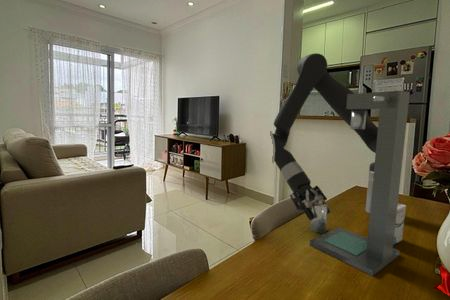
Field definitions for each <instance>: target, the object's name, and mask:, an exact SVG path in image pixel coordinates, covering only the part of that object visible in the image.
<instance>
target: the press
mask: <svg viewBox="0 0 450 300" xmlns="http://www.w3.org/2000/svg"><path fill="white" fill-rule="evenodd" d="M410 97H411V93H410V91H405V90H392V91H375V92H374V91H373V92H364V93H362V92H360V93H359V92H358V93H355V94H347V107H346V109H367V110H379V113H378V124H377V127H378V133H377V144H376V153H375V154H374V155H375V156H374V162H375V165H374V176H373V186H372V197H371V208H370V214H369V221H368V231H367V237H366V236H363V235H360V234H358V233H355V232H353V231H351V230H347V229H345V228H342V227H339V226H338V227H336V228H333V229H331V230H330V231H327V232H325V233H322V234H320V235H318V236H317V237H314V238H312V239H310V240H309V245H310V246H311V247H313V248H315V249H318V250H319V251H321V252H324V254H325V253H326V254H328V255H329V256H332V257H333V258H335V259H337V260H339V261H342V262H344V263H346V264H347V265H350V266H351V267H354V268H355V269H357V270H359V271H362V272H364V273H366V274H367V275H369V276H371V277H373V276H375V275H376V274H377V273H379V272H380V271H381V270H382V269H383V268H385V267H386V266H387V265H389V264H390V263H391V262H392V261H394V260H395V259H397V258H398V257H399V256H400V249H397V248H395V247H394V245H393V242H394V233H395V224H396V215H397V205H398V203H399V194H400V188H401V187H400V186H401V178H402V168H403V167H402V166H403V158H404V148H405V139H406V132H407V121H408V115H409V114H408V113H409V103H410ZM365 122H366V111H352V114H351V127H350V126H349V127H350V130H353V129H365Z"/></svg>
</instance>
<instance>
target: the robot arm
mask: <svg viewBox="0 0 450 300" xmlns="http://www.w3.org/2000/svg"><path fill="white" fill-rule="evenodd" d="M296 68H297V69H296V71H297V74H298V79H297V81H296V83H295V85H294V87H293V89H292V91H291V92H290V94H288V95H289V96H287V98H286V100H285V101H284V102H283V104H282V106H281V107H280V109H279V110H278V113H277V116H276V117H275V119H274V122H273V125H274V127H275V131H274V133H273V132H271V135H272V138H273V143H274V157H273V162H274V163H275V164H276V166H277V168H278V169H279V171H280V173H281V174H282V177H283V179H284V181H285V182H286V183H287V185H288V186H289V189H290V190H291V194H289V196H290V199H291V201H292V202H293V204H294V206H295V207H296V209H297V210H298V211H300V210H301V211H303V212H304V213H305V215H306V217H307V218H308V219H309V221H311V220H313V219H314V218H315V215H314V214H313V212H312V208H310V207H309V202H312V203H318V200H321V201H322V203H323V204H326V201H327V200H328V198H327V196H326V195H325V194H324V192H323V191H322V190H321V188H320V187H319V186H318V185H315V186H314V187H312V186H311V183H312V182H311V180H310V178H309V176H308V175H307V174H306V171H304V169H303V168H302V166H301V165H300V164H299V163H298V162H297V160H296V158H295V157H294V155H293V154H292V153H291V152H290V151H289V150H288V149H285V147H286V144H287V143H288V140H289V136H290V131H291V129H292V127H293V125H294V123H295V121H296V119H297V117H298V115H299V114H300V111H301V109H302V108H303V106H304V104H305V103H306V101H307V99H308V97H309V95H310V94H311V92H312V91H313V90H316V91H317V92H318V93H319V95H321V97H322V98H323V99H324V101H325V102H326V103H327V104H328V105H329V106H330V108H331V109H332V110H333V112H335V113H336V115H338V117H340V118H341V119H342V120H343V121H344V122H345V123H346V124H347V125H348V126H349V127H351V114H352V111H366V122H365V129H352V130H353V131H354V132H356V134H357V135H358V136H359V137H360V139H361V140H362V142H363V143H364V144H365V145H366V147H367V148H368V149H369V150H370V151H371V152H373V153H375V154H376V144H377V133H378V125H376V124H375V123H374V122H373V121H372V120H371V118H370V116H369V112H368V109H346V107H347V94H356V93H355V92H354V91H353V90H351V89H350V88H348V87H347V86H345V84H343V83H341V82H339V81H338V80H336V79H335V78H334V77H333V76H332V75H331V74H330V73H329V71H327V70H328V69H327V68H328V60H327V59H326V57H325V56H324V55H323V54H321V53H319V52H318V53H310V54H308V55H305V56H303V57H302V58H301V59H300V60H299V61H298V63H297V65H296ZM374 165H375V161H374V162H371V163H370V164H369V166H368V167H369V168H368V181H367V182H368V183H367V191H366V200H365V201H366V202H365V212H366V213H367V214H369V215H370V208H371V197H372V186H373V176H374ZM330 213H331V211H330V208H329V207H328V206H327V215H329V214H330Z"/></svg>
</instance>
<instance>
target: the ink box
mask: <svg viewBox="0 0 450 300" xmlns="http://www.w3.org/2000/svg"><path fill="white" fill-rule="evenodd" d="M406 209H407V205H405V204H401V203H399V202H398V205H397V215H396V224H395V233H394V242H393V246H394V245H396V244H397V243H400V242H402V240H403V235H404V234H403V232H404V225H405V217H406Z"/></svg>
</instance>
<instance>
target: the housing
mask: <svg viewBox="0 0 450 300" xmlns="http://www.w3.org/2000/svg"><path fill="white" fill-rule="evenodd" d="M311 205H312V206H311V210H312V212H313V214H314V215H315V218H314V219H313V220H310V221H311V222H310V223H311V224H310V230H311V231H312V232H313V233H315V234H325V233H327V232H326V231H327V217H328V214H327V207H328V204H326V203H325V204H323V203H322V201H321V200H318V203H316V202H312V204H311Z"/></svg>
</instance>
